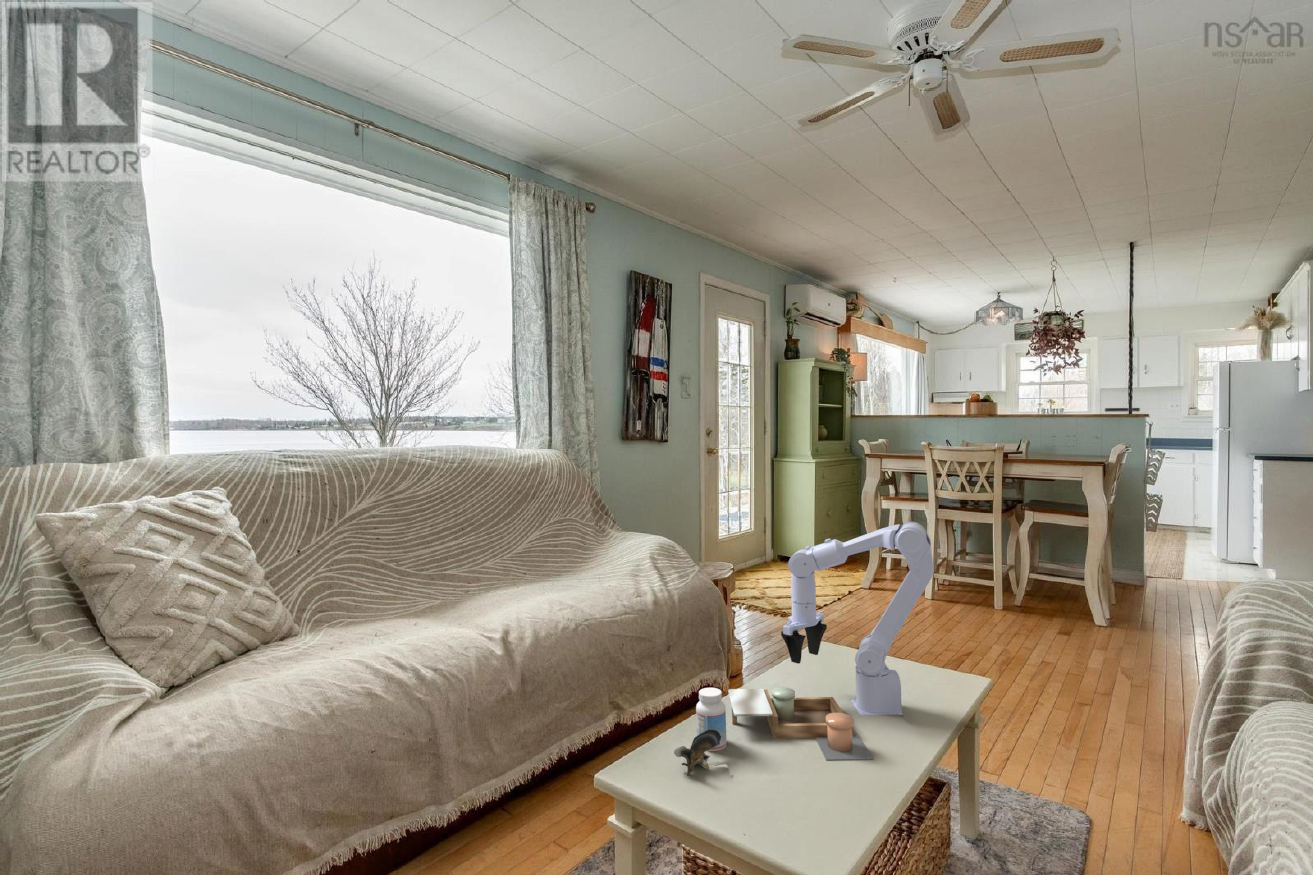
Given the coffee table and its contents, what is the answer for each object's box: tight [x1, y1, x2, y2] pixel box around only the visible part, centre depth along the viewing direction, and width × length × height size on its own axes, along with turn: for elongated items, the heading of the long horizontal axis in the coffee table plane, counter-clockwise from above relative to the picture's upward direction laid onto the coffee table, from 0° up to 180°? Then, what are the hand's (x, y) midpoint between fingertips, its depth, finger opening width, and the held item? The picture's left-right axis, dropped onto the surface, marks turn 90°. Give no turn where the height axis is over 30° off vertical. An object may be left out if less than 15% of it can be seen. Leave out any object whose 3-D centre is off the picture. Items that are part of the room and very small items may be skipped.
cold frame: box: [727, 688, 844, 739], centre depth 140 cm, size 24×14×5 cm, turn 89°
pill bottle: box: [695, 687, 727, 752], centre depth 132 cm, size 6×6×11 cm
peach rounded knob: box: [826, 712, 855, 752], centre depth 129 cm, size 5×5×6 cm
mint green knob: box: [771, 686, 796, 720], centre depth 143 cm, size 5×5×6 cm
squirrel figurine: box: [673, 729, 721, 776], centre depth 124 cm, size 8×7×9 cm
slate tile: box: [814, 735, 874, 762], centre depth 128 cm, size 9×9×1 cm
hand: (804, 658), depth 153 cm, fingers open, 7 cm apart
